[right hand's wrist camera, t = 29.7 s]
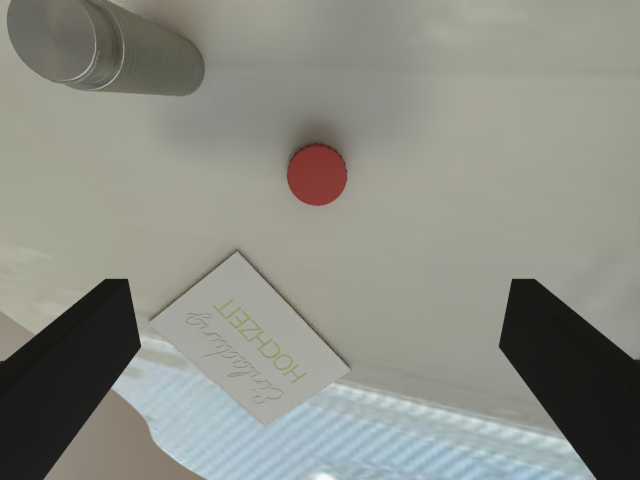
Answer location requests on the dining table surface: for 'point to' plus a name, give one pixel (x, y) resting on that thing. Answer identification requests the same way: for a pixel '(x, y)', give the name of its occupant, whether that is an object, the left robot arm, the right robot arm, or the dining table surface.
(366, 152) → the dining table surface
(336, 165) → the lid
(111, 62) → the grey cylindrical bottle
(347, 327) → the dining table surface
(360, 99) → the dining table surface
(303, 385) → the invitation card
